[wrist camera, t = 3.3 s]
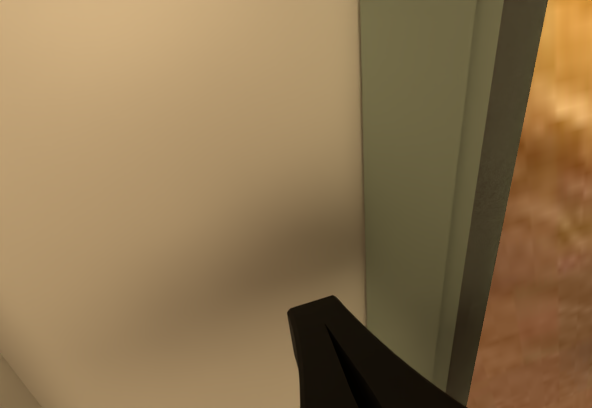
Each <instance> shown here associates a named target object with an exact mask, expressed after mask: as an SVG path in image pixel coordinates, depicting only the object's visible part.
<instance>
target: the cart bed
mask: <svg viewBox="0 0 592 408" xmlns="http://www.w3.org/2000/svg"><path fill="white" fill-rule="evenodd" d="M331 295H334V296H335V297H337V298H338V299H339V300H340V301H341V303H342V304H343V305H344V306H345V307H346V308H347V309H348V310H349V311H350V312H351V313H352V314H353V315H354V316H355V317H356V318H357V319H358V320H359V321H360V322H361V323H362V324H363V325H364V326H365V327H366V328H367V299H366V252H365V206H364V160H363V114H362V68H361V21H360V0H0V408H300V384H299V371H298V366H297V363H296V359H295V356H294V351H293V345H292V339H291V334H290V328H289V322H288V316H287V312H288V310H289V309H290V308H292V307H296V306H299V305H302V304H305V303H308V302H312V301H315V300H318V299H321V298H325V297H328V296H331Z"/></svg>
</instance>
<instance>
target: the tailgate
mask: <svg viewBox="0 0 592 408" xmlns="http://www.w3.org/2000/svg"><path fill="white" fill-rule="evenodd" d="M547 2H548V0H360V21H361V68H362V114H363V160H364V206H365V252H366V299H367V329H368V330H369V331H370V332H371V333H372V334H373V335H375V336H376V337H377V338H378V339H379V340H380V341H381V342H382V343H383V344H385V345H386V346H387V347H388V348H389V349H390V350H391V351H393V352H394V353H395V354H396V355H397V356H398V357H400V358H401V359H402V360H403V361H404V362H406V363H407V364H408V365H409V366H411V367H412V368H413V369H414V370H416V371H417V372H418V373H419V374H421V375H422V376H423V377H425V378H426V379H427V380H429V381H430V382H431V383H433V384H434V385H435V386H437V387H438V388H439V389H441V390H442V391H444V392H445V393H447V394H448V395H449V396H451V397H452V398H454V399H455V400H457V401H458V402H460V403H461V404H463V405H464V406H466V405H467V400H468V395H469V390H470V385H471V380H472V375H473V371H474V366H475V361H476V356H477V351H478V346H479V341H480V336H481V331H482V326H483V321H484V316H485V311H486V306H487V301H488V296H489V291H490V286H491V281H492V276H493V271H494V266H495V261H496V256H497V251H498V246H499V241H500V236H501V231H502V226H503V221H504V216H505V211H506V206H507V201H508V196H509V191H510V186H511V181H512V176H513V171H514V166H515V161H516V156H517V151H518V146H519V141H520V137H521V132H522V127H523V122H524V117H525V112H526V107H527V102H528V97H529V92H530V87H531V82H532V77H533V72H534V67H535V62H536V57H537V52H538V47H539V42H540V37H541V32H542V27H543V22H544V17H545V12H546V7H547Z"/></svg>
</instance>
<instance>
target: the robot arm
mask: <svg viewBox="0 0 592 408" xmlns="http://www.w3.org/2000/svg"><path fill="white" fill-rule="evenodd" d="M287 316H288V322H289V328H290V334H291V339H292V345H293V351H294V356H295V359H296V363H297V366H298V371H299V384H300V408H467V407H466V406H464V405H463V404H461V403H460V402H458V401H457V400H455V399H454V398H452V397H451V396H449V395H448V394H447V393H445V392H444V391H442V390H441V389H439V388H438V387H437V386H435V385H434V384H433V383H431V382H430V381H429V380H427V379H426V378H425V377H423V376H422V375H421V374H419V373H418V372H417V371H416V370H414V369H413V368H412V367H411V366H409V365H408V364H407V363H406V362H404V361H403V360H402V359H401V358H400V357H398V356H397V355H396V354H395V353H394V352H393V351H391V350H390V349H389V348H388V347H387V346H386V345H385V344H383V343H382V342H381V341H380V340H379V339H378V338H377V337H376V336H375V335H373V334H372V333H371V332H370V331H369V330H368V329H367V328H366V327H365V326H364V325H363V324H362V323H361V322H360V321H359V320H358V319H357V318H356V317H355V316H354V315H353V314H352V313H351V312H350V311H349V310H348V309H347V308H346V307H345V306H344V305H343V304H342V303H341V301H340V300H339V299H338V298H337V297H335V296H334V295H331V296H328V297H325V298H321V299H318V300H315V301H312V302H308V303H305V304H302V305H299V306H296V307H292V308H290V309H289V310H288V312H287Z"/></svg>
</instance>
